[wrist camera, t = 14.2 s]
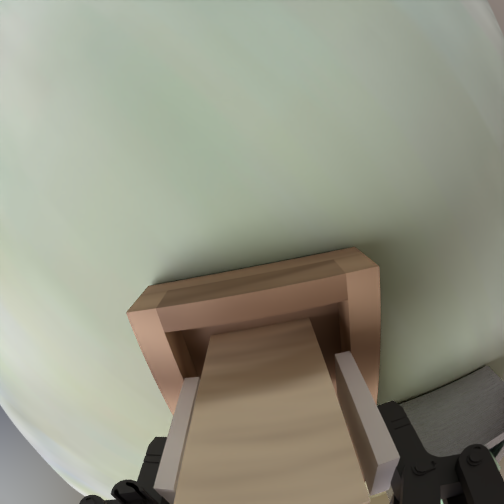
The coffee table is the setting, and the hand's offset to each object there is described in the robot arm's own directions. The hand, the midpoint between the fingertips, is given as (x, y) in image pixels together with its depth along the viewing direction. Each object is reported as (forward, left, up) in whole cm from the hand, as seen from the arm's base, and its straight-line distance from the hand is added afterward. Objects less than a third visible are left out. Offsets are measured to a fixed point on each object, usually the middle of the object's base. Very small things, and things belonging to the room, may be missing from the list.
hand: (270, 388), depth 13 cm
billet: (0, 0, -2) cm, 2 cm away
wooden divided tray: (+5, 0, -3) cm, 5 cm away
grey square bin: (+13, +13, -3) cm, 18 cm away
